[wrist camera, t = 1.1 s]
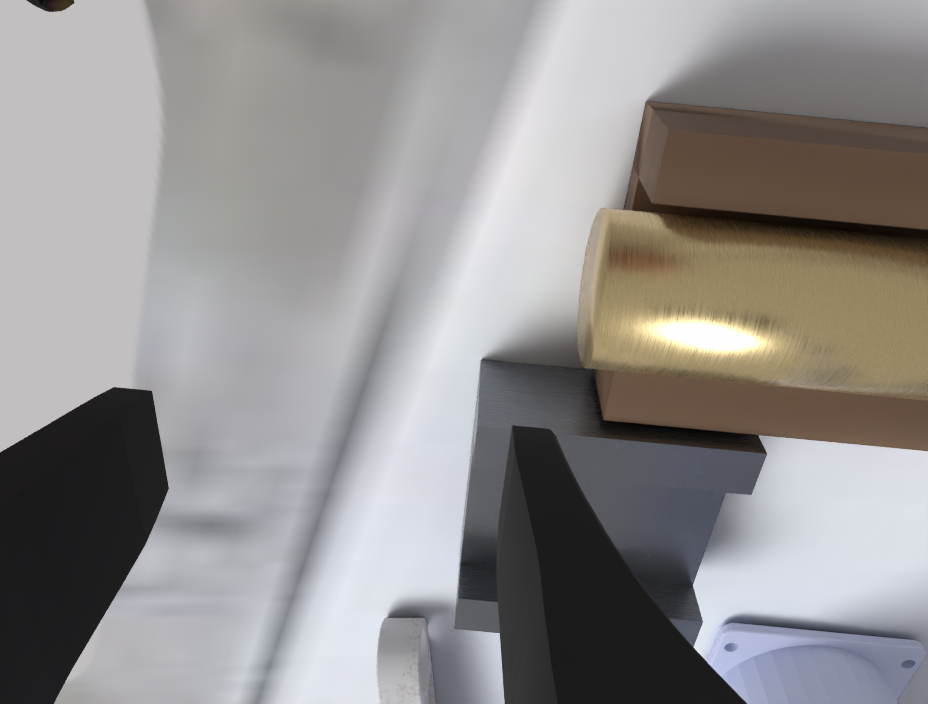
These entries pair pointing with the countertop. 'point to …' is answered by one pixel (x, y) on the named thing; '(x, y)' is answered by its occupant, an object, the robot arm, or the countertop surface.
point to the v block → (601, 485)
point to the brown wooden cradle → (784, 203)
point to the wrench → (404, 662)
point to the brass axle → (755, 304)
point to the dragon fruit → (52, 4)
